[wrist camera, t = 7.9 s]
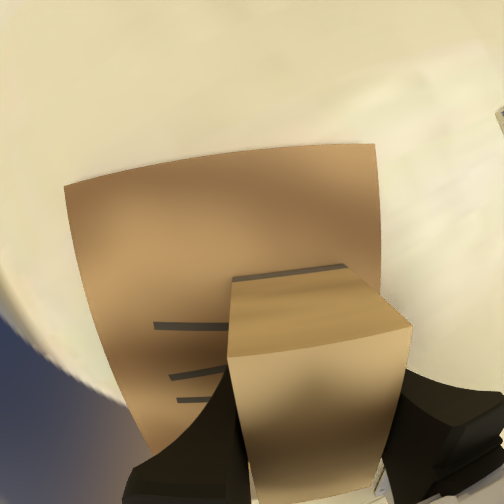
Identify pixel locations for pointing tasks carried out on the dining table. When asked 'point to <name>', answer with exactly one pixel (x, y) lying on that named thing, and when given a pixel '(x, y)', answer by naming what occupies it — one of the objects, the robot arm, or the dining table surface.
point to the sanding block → (314, 379)
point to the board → (209, 258)
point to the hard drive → (501, 118)
